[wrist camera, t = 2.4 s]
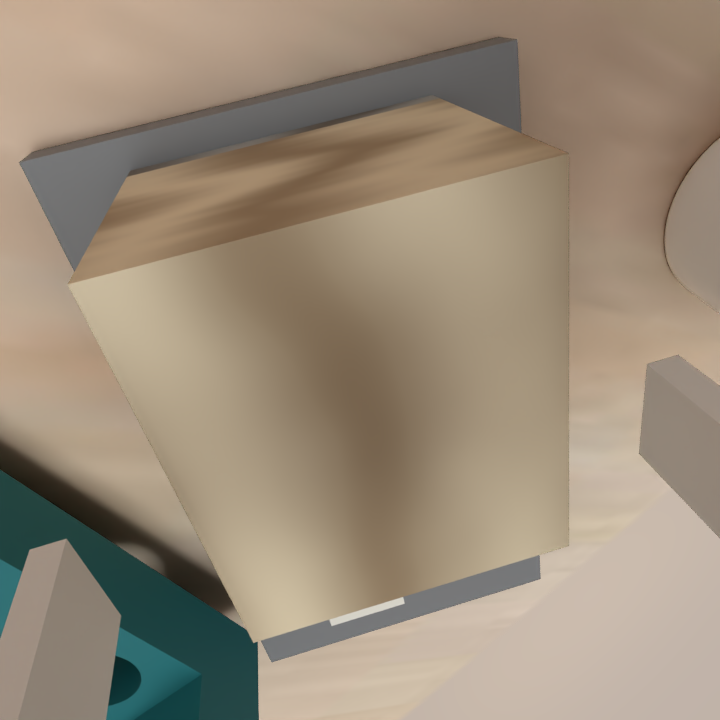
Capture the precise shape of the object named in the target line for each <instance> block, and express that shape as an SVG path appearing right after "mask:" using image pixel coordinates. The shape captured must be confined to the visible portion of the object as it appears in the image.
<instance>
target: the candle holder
mask: <svg viewBox="0 0 720 720" xmlns="http://www.w3.org/2000/svg"><path fill="white" fill-rule="evenodd" d="M665 252H666V257H667V261H668V264H669V267H670V269H671V271H672V273H673V274H674V276H675V277H676V279H677V280H678V281H679V282H680V283H681V284H682V285H683V286H684V287H685V288H686V289H687V290H688V291H690V292H691V293H692V294H693V295H695V296H696V297H697V298H699V299H700V300H701V301H703V302H704V303H705V304H707V305H708V306H709V307H711V308H712V309H713V310H715V311H716V312H717V313H719V314H720V138H719V139H718V140H716V141H715V142H714V143H713V144H712V145H711V146H710V147H709V148H708V149H707V150H706V151H705V152H704V153H703V154H702V155H701V156H700V158H699V159H698V160H697V161H696V162H695V164H694V165H693V166H692V168H691V169H690V170H689V172H688V173H687V175H686V177H685V178H684V180H683V181H682V183H681V185H680V187H679V189H678V191H677V193H676V195H675V197H674V199H673V202H672V205H671V207H670V210H669V214H668V218H667V222H666V228H665Z"/></svg>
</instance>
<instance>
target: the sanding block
mask: <svg viewBox="0 0 720 720" xmlns="http://www.w3.org/2000/svg"><path fill="white" fill-rule="evenodd" d="M67 285H68V287H69V289H70V290H71V292H72V294H73V296H74V298H75V300H76V302H77V304H78V306H79V308H80V310H81V312H82V314H83V315H84V317H85V319H86V321H87V323H88V325H89V327H90V329H91V331H92V333H93V335H94V337H95V339H96V341H97V342H98V344H99V346H100V348H101V350H102V352H103V354H104V356H105V358H106V360H107V362H108V364H109V366H110V368H111V369H112V371H113V373H114V375H115V377H116V379H117V381H118V383H119V385H120V387H121V389H122V391H123V393H124V394H125V396H126V398H127V400H128V402H129V404H130V406H131V408H132V410H133V412H134V414H135V416H136V418H137V420H138V421H139V423H140V425H141V427H142V429H143V431H144V433H145V435H146V437H147V439H148V441H149V443H150V445H151V446H152V448H153V450H154V452H155V454H156V456H157V458H158V460H159V462H160V464H161V466H162V468H163V470H164V472H165V473H166V475H167V477H168V479H169V481H170V483H171V485H172V487H173V489H174V491H175V493H176V495H177V497H178V499H179V500H180V502H181V504H182V506H183V508H184V510H185V512H186V514H187V516H188V518H189V520H190V522H191V524H192V525H193V527H194V529H195V531H196V533H197V535H198V537H199V539H200V541H201V543H202V545H203V547H204V549H205V551H206V552H207V554H208V556H209V558H210V560H211V562H212V564H213V566H214V568H215V570H216V572H217V574H218V576H219V577H220V579H221V581H222V583H223V585H224V587H225V589H226V591H227V593H228V595H229V597H230V599H231V601H232V603H233V604H234V606H235V608H236V610H237V612H238V614H239V616H240V618H241V620H242V622H243V624H244V626H245V628H246V630H247V631H248V633H249V635H250V637H251V639H252V641H253V643H255V642H258V641H261V640H265V639H268V638H271V637H274V636H278V635H281V634H284V633H287V632H291V631H294V630H297V629H300V628H304V627H307V626H310V625H313V624H317V623H320V622H323V621H326V620H330V619H333V618H336V617H339V616H343V615H346V614H349V613H352V612H356V611H359V610H362V609H365V608H369V607H372V606H375V605H378V604H382V603H385V602H388V601H391V600H395V599H398V598H401V597H404V596H408V595H411V594H414V593H417V592H421V591H424V590H427V589H430V588H434V587H437V586H440V585H443V584H447V583H450V582H453V581H456V580H460V579H463V578H466V577H470V576H473V575H476V574H479V573H483V572H486V571H489V570H492V569H496V568H499V567H502V566H505V565H509V564H512V563H515V562H518V561H522V560H525V559H528V558H531V557H535V556H538V555H541V554H544V553H548V552H551V551H554V550H557V549H561V548H564V547H567V546H569V153H566V152H564V151H562V150H559V149H557V148H555V147H552V146H550V145H548V144H545V143H543V142H541V141H538V140H536V139H534V138H531V137H529V136H527V135H524V134H522V133H520V132H517V131H515V130H513V129H510V128H508V127H506V126H503V125H501V124H499V123H496V122H494V121H492V120H489V119H487V118H485V117H482V116H480V115H478V114H475V113H473V112H471V111H468V110H466V109H464V108H461V107H459V106H457V105H454V104H452V103H450V102H447V101H445V100H443V99H440V98H438V97H436V96H433V95H430V96H426V97H422V98H418V99H414V100H410V101H406V102H402V103H398V104H394V105H390V106H386V107H382V108H378V109H374V110H370V111H366V112H362V113H358V114H354V115H350V116H346V117H342V118H338V119H334V120H330V121H326V122H322V123H318V124H314V125H310V126H306V127H302V128H298V129H294V130H290V131H286V132H282V133H278V134H274V135H270V136H267V137H263V138H259V139H255V140H251V141H247V142H243V143H239V144H235V145H231V146H227V147H223V148H219V149H215V150H211V151H207V152H203V153H199V154H195V155H191V156H187V157H183V158H179V159H175V160H171V161H167V162H163V163H159V164H155V165H151V166H147V167H143V168H139V169H135V170H131V171H130V172H129V174H128V175H127V177H126V179H125V181H124V183H123V185H122V186H121V188H120V190H119V192H118V194H117V195H116V197H115V199H114V201H113V203H112V205H111V206H110V208H109V210H108V212H107V214H106V215H105V217H104V219H103V221H102V223H101V225H100V226H99V228H98V230H97V232H96V234H95V235H94V237H93V239H92V241H91V243H90V245H89V246H88V248H87V250H86V252H85V254H84V255H83V257H82V259H81V261H80V263H79V265H78V266H77V268H76V270H75V272H74V274H73V275H72V277H71V279H70V281H69V283H68V284H67Z"/></svg>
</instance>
